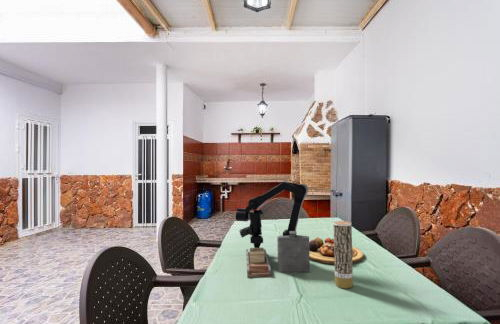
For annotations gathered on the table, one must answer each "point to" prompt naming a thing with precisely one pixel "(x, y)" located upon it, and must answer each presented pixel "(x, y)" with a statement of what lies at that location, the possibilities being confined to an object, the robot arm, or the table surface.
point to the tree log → (343, 254)
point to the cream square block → (256, 255)
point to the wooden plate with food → (329, 251)
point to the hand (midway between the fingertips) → (256, 252)
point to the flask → (293, 253)
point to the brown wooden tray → (258, 267)
